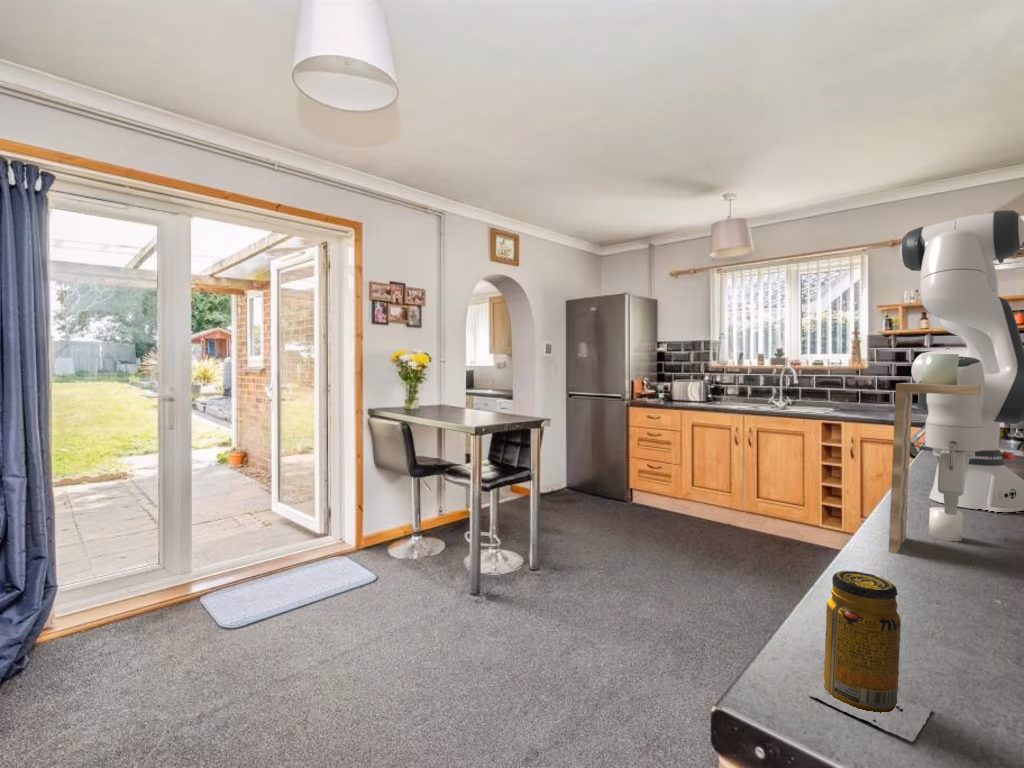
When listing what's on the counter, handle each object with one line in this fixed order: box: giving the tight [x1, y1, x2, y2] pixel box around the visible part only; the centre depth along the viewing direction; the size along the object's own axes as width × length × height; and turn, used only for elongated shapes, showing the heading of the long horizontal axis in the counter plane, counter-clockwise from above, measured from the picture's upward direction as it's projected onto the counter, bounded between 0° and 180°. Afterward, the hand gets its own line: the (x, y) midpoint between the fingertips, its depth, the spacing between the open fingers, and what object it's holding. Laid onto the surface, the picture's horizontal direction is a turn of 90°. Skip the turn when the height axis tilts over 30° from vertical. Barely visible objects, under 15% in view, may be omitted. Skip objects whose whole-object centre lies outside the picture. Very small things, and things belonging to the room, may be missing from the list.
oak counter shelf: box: [888, 382, 981, 554], centre depth 93 cm, size 12×11×30 cm
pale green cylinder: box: [921, 353, 959, 385], centre depth 92 cm, size 5×5×5 cm
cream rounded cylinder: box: [928, 506, 964, 543], centre depth 102 cm, size 5×5×5 cm
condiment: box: [823, 570, 902, 713], centre depth 50 cm, size 7×8×12 cm
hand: (951, 508), depth 101 cm, fingers open, 8 cm apart
